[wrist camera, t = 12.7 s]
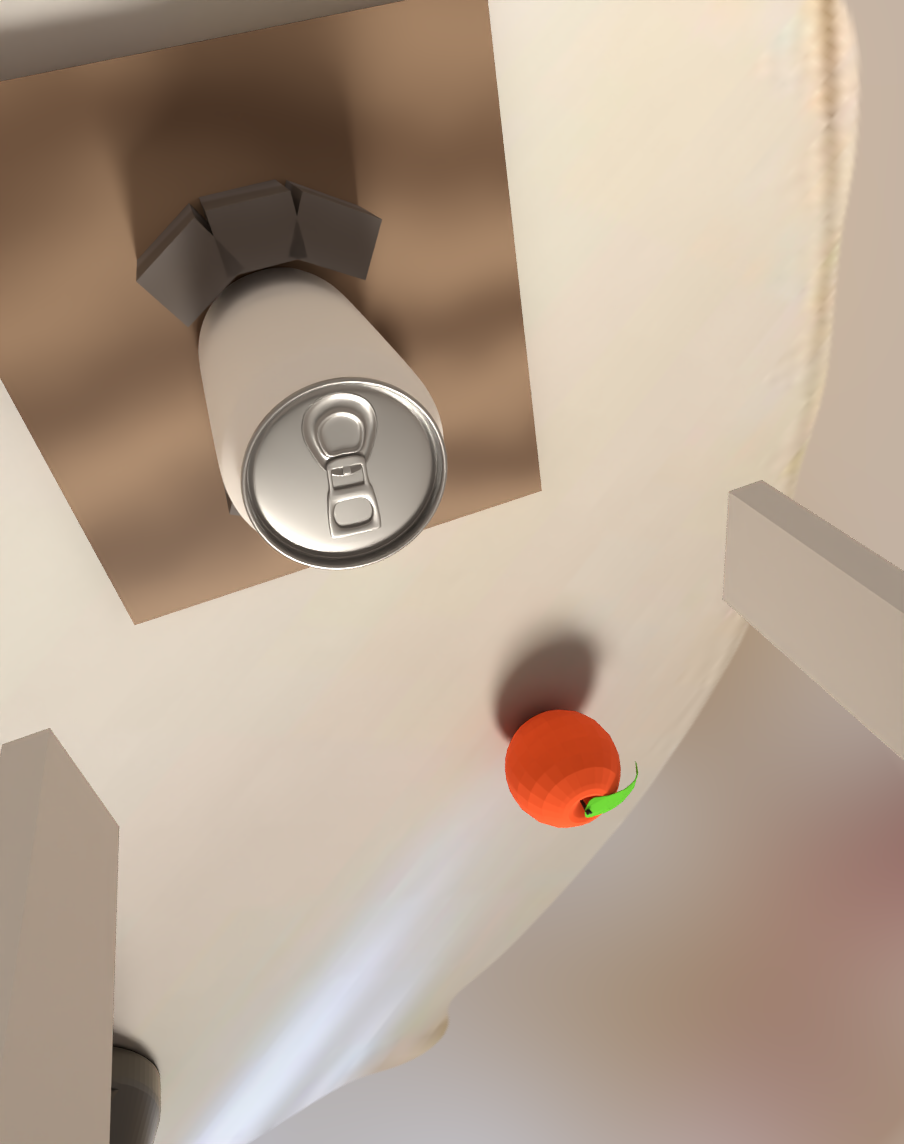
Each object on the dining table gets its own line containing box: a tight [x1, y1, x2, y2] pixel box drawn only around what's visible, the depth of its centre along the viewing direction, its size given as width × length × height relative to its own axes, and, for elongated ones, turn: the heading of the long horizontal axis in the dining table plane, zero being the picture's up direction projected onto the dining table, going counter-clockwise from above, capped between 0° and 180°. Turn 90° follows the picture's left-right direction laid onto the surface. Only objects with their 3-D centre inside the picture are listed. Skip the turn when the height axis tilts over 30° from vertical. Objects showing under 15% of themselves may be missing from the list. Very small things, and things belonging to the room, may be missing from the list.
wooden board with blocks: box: [0, 0, 542, 625], centre depth 29 cm, size 20×20×5 cm
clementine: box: [505, 709, 638, 828], centre depth 46 cm, size 8×7×7 cm
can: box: [198, 267, 448, 570], centre depth 25 cm, size 6×6×12 cm
